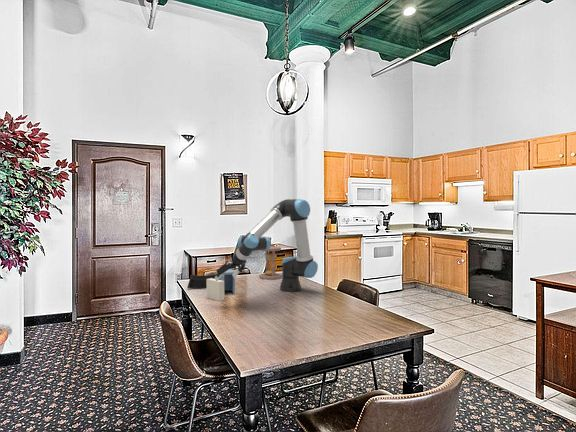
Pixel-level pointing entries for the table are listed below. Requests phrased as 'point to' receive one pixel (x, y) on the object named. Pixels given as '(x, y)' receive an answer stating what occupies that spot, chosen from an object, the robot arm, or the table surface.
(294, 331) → the table surface
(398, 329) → the table surface
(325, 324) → the table surface
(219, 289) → the tile
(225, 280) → the housing
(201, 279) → the magazine
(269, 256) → the hourglass
